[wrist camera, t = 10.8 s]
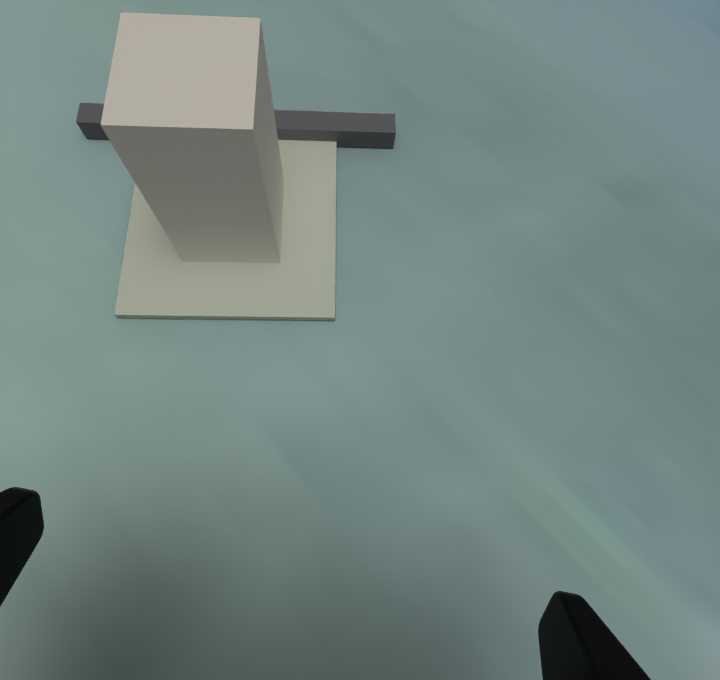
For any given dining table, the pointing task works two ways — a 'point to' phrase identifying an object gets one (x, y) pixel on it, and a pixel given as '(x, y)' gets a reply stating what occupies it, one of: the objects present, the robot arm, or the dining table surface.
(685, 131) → the dining table surface
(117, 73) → the carton
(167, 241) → the pad
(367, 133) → the rail
